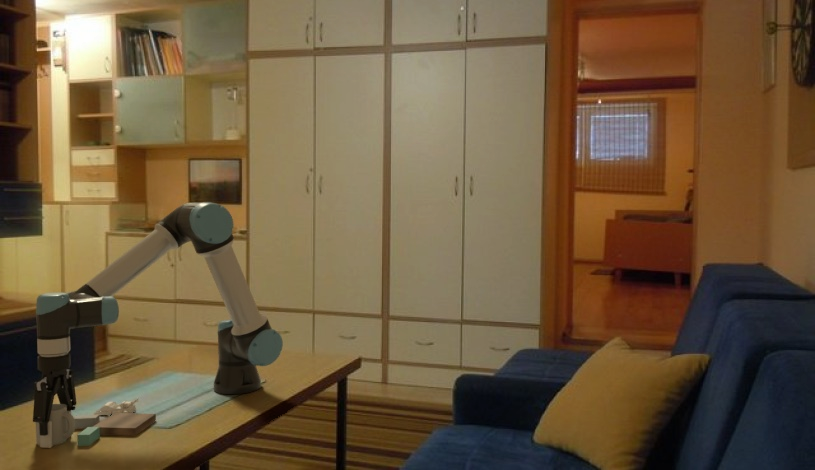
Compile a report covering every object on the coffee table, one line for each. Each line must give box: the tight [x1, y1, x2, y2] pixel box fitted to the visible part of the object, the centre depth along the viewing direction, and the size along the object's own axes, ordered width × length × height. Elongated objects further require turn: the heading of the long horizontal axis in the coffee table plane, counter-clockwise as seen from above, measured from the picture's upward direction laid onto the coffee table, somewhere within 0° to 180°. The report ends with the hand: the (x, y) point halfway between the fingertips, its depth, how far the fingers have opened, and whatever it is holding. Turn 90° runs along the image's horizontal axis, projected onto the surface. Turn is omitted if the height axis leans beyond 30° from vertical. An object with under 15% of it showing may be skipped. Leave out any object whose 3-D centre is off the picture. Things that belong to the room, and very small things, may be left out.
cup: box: [35, 403, 76, 447], centre depth 177 cm, size 7×10×9 cm
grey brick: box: [73, 414, 101, 430], centre depth 189 cm, size 6×3×3 cm, turn 96°
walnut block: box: [93, 412, 157, 437], centre depth 188 cm, size 12×12×2 cm
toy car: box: [93, 398, 139, 415], centre depth 201 cm, size 6×12×4 cm, turn 88°
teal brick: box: [76, 427, 101, 447], centre depth 177 cm, size 6×3×3 cm, turn 1°
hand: (56, 440), depth 177 cm, fingers open, 8 cm apart
